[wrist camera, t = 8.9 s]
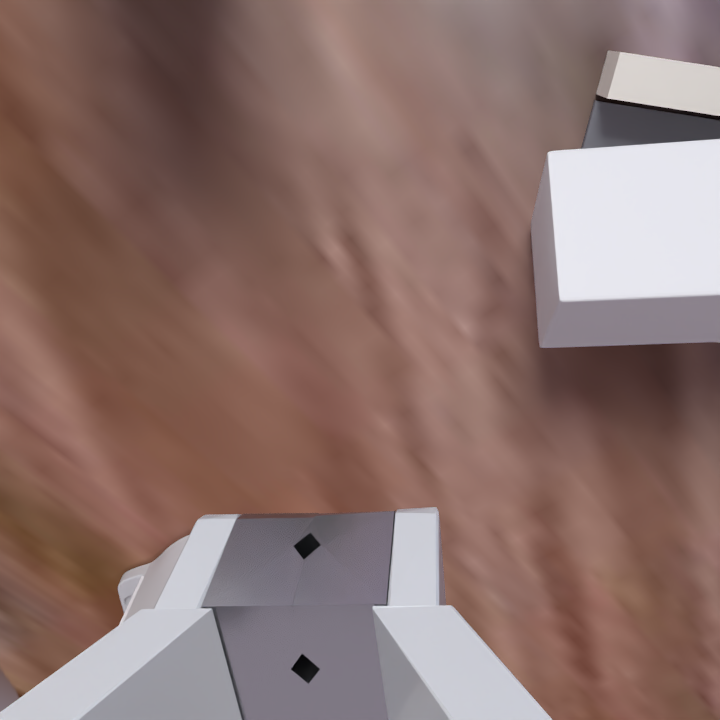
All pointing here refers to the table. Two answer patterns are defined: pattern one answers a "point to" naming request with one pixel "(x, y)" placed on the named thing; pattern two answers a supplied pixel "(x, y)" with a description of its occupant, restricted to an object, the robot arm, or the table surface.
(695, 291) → the milk carton
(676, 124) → the cradle
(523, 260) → the table surface
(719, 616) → the table surface
